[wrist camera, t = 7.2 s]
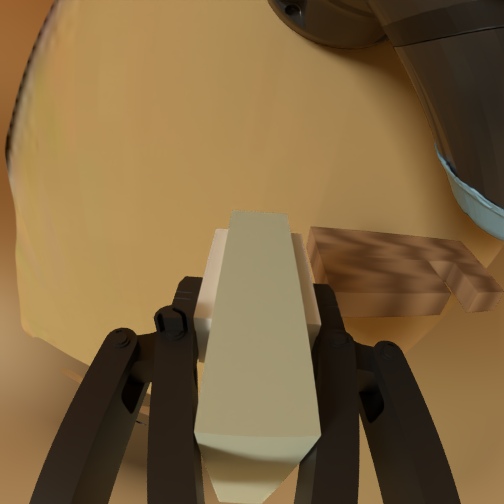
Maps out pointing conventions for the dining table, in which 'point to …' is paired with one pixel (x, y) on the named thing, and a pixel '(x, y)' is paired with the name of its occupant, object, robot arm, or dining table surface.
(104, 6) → the dining table surface
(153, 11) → the dining table surface
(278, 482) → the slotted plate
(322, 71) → the dining table surface
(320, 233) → the slotted board
